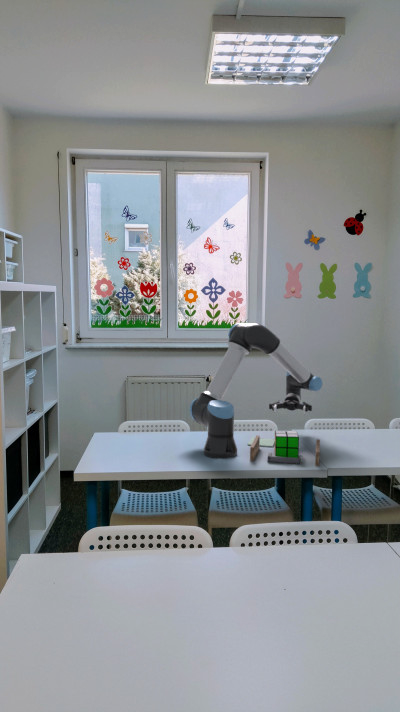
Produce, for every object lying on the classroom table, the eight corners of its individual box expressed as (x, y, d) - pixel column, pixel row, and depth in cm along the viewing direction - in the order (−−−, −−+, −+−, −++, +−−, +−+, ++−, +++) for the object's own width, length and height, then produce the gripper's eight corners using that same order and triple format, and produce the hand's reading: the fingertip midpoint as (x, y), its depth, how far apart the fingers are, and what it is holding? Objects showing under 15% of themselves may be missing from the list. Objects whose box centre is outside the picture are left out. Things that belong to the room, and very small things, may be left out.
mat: (247, 445, 239) (247, 444, 239) (251, 438, 251) (251, 437, 251) (272, 447, 236) (272, 446, 236) (275, 440, 248) (275, 439, 248)
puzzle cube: (296, 452, 228) (296, 431, 227) (298, 459, 219) (299, 436, 218) (274, 451, 229) (274, 430, 228) (275, 458, 220) (275, 436, 218)
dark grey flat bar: (267, 462, 214) (267, 456, 214) (268, 458, 219) (268, 452, 219) (300, 464, 211) (300, 459, 210) (301, 460, 216) (301, 455, 216)
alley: (250, 460, 216) (250, 447, 215) (256, 447, 235) (256, 435, 235) (319, 466, 209) (319, 452, 208) (319, 452, 228) (319, 439, 228)
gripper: (317, 410, 251) (316, 420, 230) (267, 407, 257) (262, 417, 236) (317, 395, 250) (316, 404, 229) (267, 393, 256) (262, 401, 235)
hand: (289, 410), depth 233 cm, fingers open, 13 cm apart
